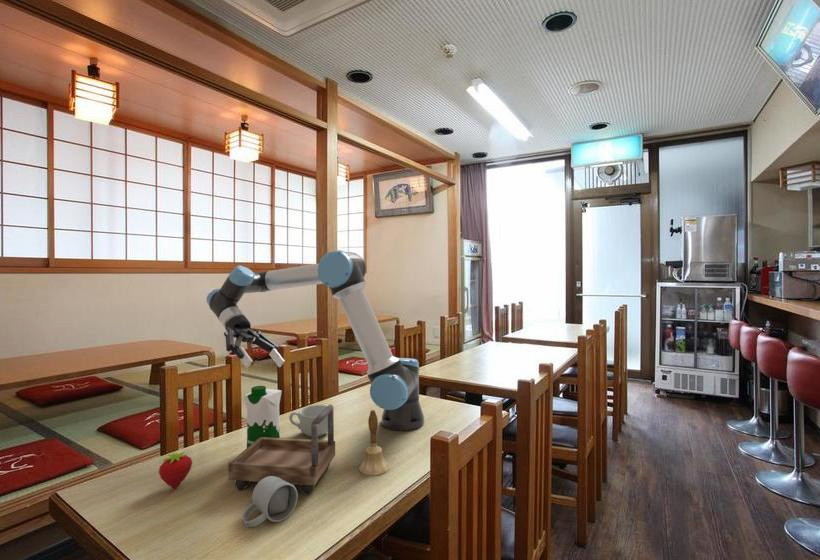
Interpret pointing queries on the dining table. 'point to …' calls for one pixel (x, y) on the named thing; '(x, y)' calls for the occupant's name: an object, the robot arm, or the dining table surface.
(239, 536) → the dining table surface
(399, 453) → the dining table surface
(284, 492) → the ceramic mug
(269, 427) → the soya milk
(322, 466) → the walnut cart
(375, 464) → the hand bell
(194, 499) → the dining table surface
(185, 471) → the strawberry
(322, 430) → the teacup
